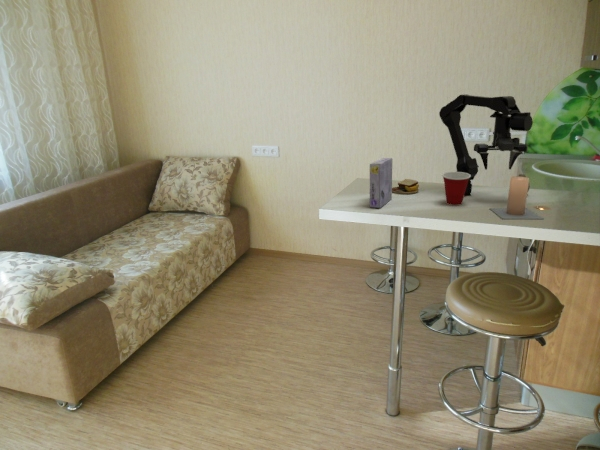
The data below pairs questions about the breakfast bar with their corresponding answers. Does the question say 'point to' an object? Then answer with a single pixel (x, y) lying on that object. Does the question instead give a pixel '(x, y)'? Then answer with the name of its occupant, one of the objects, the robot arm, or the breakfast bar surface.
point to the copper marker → (542, 207)
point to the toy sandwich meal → (406, 187)
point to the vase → (524, 176)
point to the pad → (527, 216)
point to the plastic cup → (455, 186)
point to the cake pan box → (380, 182)
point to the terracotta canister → (517, 195)
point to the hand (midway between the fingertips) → (497, 169)
